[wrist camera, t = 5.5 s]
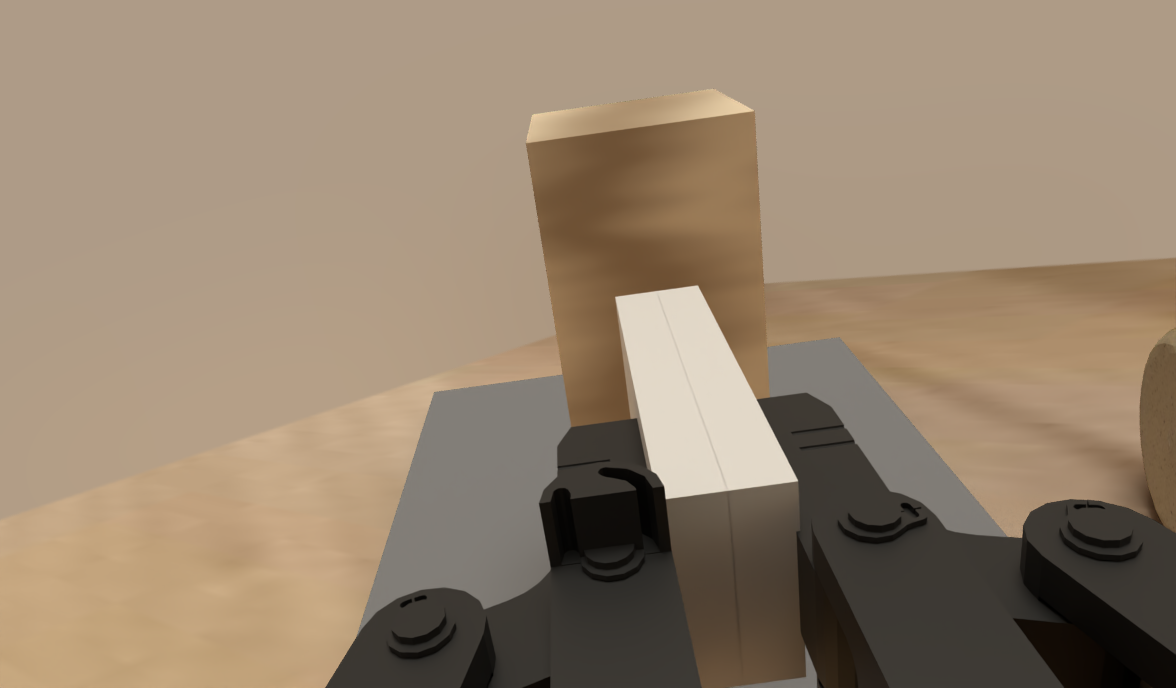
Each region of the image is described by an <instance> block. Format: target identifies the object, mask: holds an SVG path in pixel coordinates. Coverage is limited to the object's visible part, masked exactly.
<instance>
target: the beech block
mask: <svg viewBox="0 0 1176 688" xmlns="http://www.w3.org/2000/svg"><path fill="white" fill-rule="evenodd" d="M526 146H527V152H528V159H529V165H530V172H531V178H532V184H533V191H534V196H535V203H536V209H537V216H538V222H539V228H540V234H541V241H542V247H543V253H544V260H545V266H546V272H547V278H548V285H549V291H550V297H551V304H552V310H553V316H554V322H555V329H556V335H557V341H558V347H559V354H560V360H561V366H562V373H563V379H564V385H565V391H566V398H567V404H568V410H569V416H570V423H571V427H576V426H583V425H590V424H597V423H605V422H612V421H619V420H627V419H631V417H630V409H629V401H628V394H627V386H626V378H625V370H624V362H623V354H622V347H621V339H620V331H619V323H618V315H617V308H616V300H615V297H618V296H625V295H633V294H640V293H647V292H654V291H661V290H668V289H676V288H683V287H690V286H697V285H698V287H699V289H700V291H701V293H702V294H703V296H704V298H705V300H706V302H707V304H708V306H709V308H710V310H711V312H712V314H713V316H714V318H715V320H716V322H717V324H718V326H719V328H720V330H721V332H722V333H723V335H724V337H725V339H726V341H727V343H728V345H729V347H730V349H731V351H732V353H733V355H734V357H735V359H736V361H737V363H738V365H739V367H740V369H741V371H742V372H743V374H744V376H745V378H746V380H747V382H748V384H749V386H750V388H751V390H752V392H753V394H754V396H755V398H756V399H762V398H769V397H770V391H769V373H768V354H767V335H766V316H765V297H764V278H763V259H762V241H761V221H760V203H759V184H758V165H757V146H756V127H755V111H754V110H752V109H750V108H748V107H746V106H745V105H743V104H741V103H739V102H737V101H735V100H734V99H732V98H730V97H728V96H726V95H724V94H723V93H721V92H719V91H717V90H715V89H709V90H702V91H695V92H688V93H681V94H674V95H667V96H660V97H653V98H646V99H638V100H631V101H624V102H617V103H610V104H603V105H596V106H589V107H582V108H575V109H568V110H561V111H554V112H547V113H540V114H533V115H532V119H531V123H530V128H529V132H528V136H527V141H526Z"/></svg>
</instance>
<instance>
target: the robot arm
mask: <svg viewBox="0 0 1176 688" xmlns="http://www.w3.org/2000/svg"><path fill="white" fill-rule="evenodd" d="M615 300H616V308H617V315H618V323H619V331H620V339H621V347H622V354H623V362H624V370H625V378H626V386H627V394H628V401H629V409H630V417H631V419H627V420H619V421H612V422H605V423H597V424H590V425H583V426H576V427H571V428H570V429H569V430H568V432H567V433H566V435H565V436H564V437H563V439H562V440H561V442H560V443H559V444H558V446H557V468H558V470H557V477H556V478H555V479H554V480H553V481H552V482H551V483H550V484H549V485H548V486H547V487H546V488H545V489H544V490H543V493H542V496H541V499H540V501H539V507H540V513H541V518H542V523H543V529H544V534H545V540H546V545H547V551H548V556H549V561H550V567H551V570H550V572H549V573H548V574H547V575H546V576H545V577H544V578H543V579H542V580H541V581H540V582H539V583H538V584H536V585H535V586H534V587H532V588H531V589H529V590H528V591H526V592H525V593H523V594H521V595H519V596H516V597H514V598H512V599H510V600H508V601H505V602H503V603H500V604H497V605H494V606H492V607H489V608H486V609H483V607H482V604H481V602H480V601H479V600H478V599H476V598H475V597H473V596H472V595H470V594H469V593H467V592H466V591H462V590H457V589H451V588H446V587H443V588H433V589H424V590H419V591H416V592H414V593H411V594H408V595H405V596H402V597H400V598H397V599H396V600H394V601H393V602H391V603H390V604H388V605H386V606H385V607H383V608H382V609H380V610H379V611H377V612H376V613H375V614H374V616H373V617H372V618H371V619H370V620H369V621H368V622H367V623H366V625H365V626H364V627H363V628H362V629H361V631H360V633H359V634H358V636H357V637H356V639H355V641H354V642H353V644H352V645H351V647H350V649H349V650H348V652H347V654H346V655H345V657H344V658H343V660H342V662H341V663H340V665H339V666H338V668H337V670H336V671H335V673H334V674H333V676H332V678H331V679H330V681H329V683H328V684H327V686H326V687H325V688H728V687H735V686H743V685H751V684H758V683H766V682H773V681H781V680H789V679H796V678H804V677H806V659H805V645H806V648H807V650H808V653H809V656H810V658H811V661H812V663H813V666H814V668H815V671H816V673H817V688H1176V533H1175V532H1173V531H1171V530H1170V529H1168V528H1166V527H1165V526H1163V525H1161V524H1160V523H1158V522H1156V521H1155V520H1153V519H1151V518H1148V517H1146V516H1144V515H1142V514H1140V513H1137V512H1135V511H1133V510H1131V509H1129V508H1126V507H1122V506H1117V505H1113V504H1109V503H1105V502H1102V501H1094V500H1074V499H1070V500H1064V501H1057V502H1051V503H1046V504H1045V505H1043V506H1041V507H1039V508H1037V509H1035V510H1033V511H1031V512H1030V514H1029V516H1028V517H1027V519H1026V521H1025V523H1024V525H1023V537H1022V538H1014V537H1000V536H986V535H974V534H966V533H959V532H954V531H950V530H947V529H946V528H945V527H944V525H943V524H942V523H941V521H940V520H939V519H938V517H937V516H936V515H935V514H934V513H933V512H932V511H931V510H929V509H928V508H927V507H926V506H925V505H924V504H923V503H921V502H919V501H917V500H915V499H912V498H910V497H908V496H906V495H903V494H901V493H896V492H890V491H889V489H888V488H887V486H886V485H885V483H884V482H883V481H882V479H881V478H880V476H879V475H878V473H877V472H876V470H875V469H874V467H873V466H872V465H871V463H870V462H869V460H868V459H867V457H866V456H865V454H864V453H863V452H862V450H861V449H860V447H859V446H858V444H855V441H854V439H853V437H852V436H851V434H850V433H849V431H848V430H847V428H844V424H843V423H842V421H841V420H840V418H839V417H838V415H837V414H836V412H835V411H834V410H833V408H832V407H831V406H830V405H828V404H826V403H824V402H823V401H821V400H819V399H817V398H815V397H814V396H812V395H810V394H808V393H807V392H806V393H799V394H791V395H784V396H777V397H769V398H762V399H756V398H755V396H754V394H753V392H752V390H751V388H750V386H749V384H748V382H747V380H746V378H745V376H744V374H743V372H742V371H741V369H740V367H739V365H738V363H737V361H736V359H735V357H734V355H733V353H732V351H731V349H730V347H729V345H728V343H727V341H726V339H725V337H724V335H723V333H722V332H721V330H720V328H719V326H718V324H717V322H716V320H715V318H714V316H713V314H712V312H711V310H710V308H709V306H708V304H707V302H706V300H705V298H704V296H703V294H702V293H701V291H700V289H699V287H698V285H697V286H690V287H683V288H676V289H668V290H661V291H654V292H647V293H640V294H633V295H625V296H618V297H615Z"/></svg>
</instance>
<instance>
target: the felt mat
mask: <svg viewBox="0 0 1176 688" xmlns="http://www.w3.org/2000/svg"><path fill="white" fill-rule="evenodd" d="M767 354H768V373H769V391H770V397H777V396H784V395H791V394H799V393H806V392H807V393H808V394H810V395H812V396H814V397H815V398H817V399H819V400H821V401H823V402H824V403H826V404H828V405H830V406H831V407H832V408H833V410H834V411H835V412H836V414H837V415H838V417H839V418H840V420H841V421H842V423H843V424H844V428H847V430H848V431H849V433H850V434H851V436H852V437H853V439H854V441H855V444H858V446H859V447H860V449H861V450H862V452H863V453H864V454H865V456H866V457H867V459H868V460H869V462H870V463H871V465H872V466H873V467H874V469H875V470H876V472H877V473H878V475H879V476H880V478H881V479H882V481H883V482H884V483H885V485H886V486H887V488H888V489H889V491H890V492H896V493H901V494H903V495H906V496H908V497H910V498H912V499H915V500H917V501H919V502H921V503H923V504H924V505H925V506H926V507H927V508H928V509H929V510H931V511H932V512H933V513H934V514H935V515H936V516H937V517H938V519H939V520H940V521H941V523H942V524H943V525H944V527H945V528H946V529H947V530H950V531H954V532H959V533H966V534H974V535H986V536H1000V537H1007V536H1006V534H1005V533H1004V532H1003V531H1002V530H1001V528H1000V527H999V526H998V525H997V524H996V522H995V521H994V520H993V519H992V518H991V517H990V515H989V514H988V513H987V512H986V511H985V509H984V508H983V507H982V506H981V505H980V504H979V502H978V501H977V500H976V499H975V498H974V496H973V495H972V494H971V493H970V492H969V490H968V489H967V488H966V487H965V486H964V485H963V483H962V482H961V481H960V480H959V479H958V477H957V476H956V475H955V474H954V473H953V471H952V470H951V469H950V468H949V467H948V466H947V464H946V463H945V462H944V461H943V460H942V458H941V457H940V456H939V455H938V454H937V453H936V451H935V450H934V449H933V448H932V447H931V445H930V444H929V443H928V442H927V441H926V439H925V438H924V437H923V436H922V435H921V434H920V432H919V431H918V430H917V429H916V428H915V426H914V425H913V424H912V423H911V422H910V420H909V419H908V418H907V417H906V416H905V415H904V413H903V412H902V411H901V410H900V409H899V407H898V406H897V405H896V404H895V403H894V401H893V400H892V399H891V398H890V397H889V396H888V394H887V393H886V392H885V391H884V390H883V388H882V387H881V386H880V385H879V384H878V383H877V381H876V380H875V379H874V378H873V377H872V375H871V374H870V373H869V372H868V371H867V369H866V368H865V367H864V366H863V365H862V364H861V362H860V361H859V360H858V359H857V358H856V356H855V355H854V354H853V353H852V352H851V350H850V349H849V348H848V347H847V346H846V345H845V343H844V342H843V341H842V340H841V339H840V337H838V338H831V339H824V340H816V341H809V342H801V343H794V344H787V345H779V346H772V347H767ZM570 428H571V423H570V416H569V410H568V404H567V398H566V391H565V385H564V379H563V375H557V376H550V377H543V378H535V379H528V380H520V381H513V382H506V383H498V384H491V385H483V386H476V387H469V388H461V389H454V390H446V391H439V392H434V395H433V398H432V401H431V404H430V407H429V410H428V413H427V417H426V420H425V423H424V426H423V429H422V432H421V435H420V439H419V442H418V445H417V448H416V451H415V454H414V458H413V461H412V464H411V467H410V470H409V473H408V476H407V480H406V483H405V486H404V489H403V492H402V495H401V498H400V502H399V505H398V508H397V511H396V514H395V517H394V521H393V524H392V527H391V530H390V533H389V536H388V539H387V543H386V546H385V549H384V552H383V555H382V558H381V561H380V565H379V568H378V571H377V574H376V577H375V580H374V584H373V587H372V590H371V593H370V596H369V599H368V602H367V606H366V609H365V612H364V615H363V618H362V621H361V624H360V628H359V631H358V634H359V633H360V631H361V629H362V628H363V627H364V626H365V625H366V623H367V622H368V621H369V620H370V619H371V618H372V617H373V616H374V614H375V613H376V612H377V611H379V610H380V609H382V608H383V607H385V606H386V605H388V604H390V603H391V602H393V601H394V600H396V599H397V598H400V597H402V596H405V595H408V594H411V593H414V592H416V591H419V590H424V589H433V588H443V587H446V588H451V589H457V590H462V591H466V592H467V593H469V594H470V595H472V596H473V597H475V598H476V599H478V600H479V601H480V602H481V604H482V607H483V609H486V608H489V607H492V606H494V605H497V604H500V603H503V602H505V601H508V600H510V599H512V598H514V597H516V596H519V595H521V594H523V593H525V592H526V591H528V590H529V589H531V588H532V587H534V586H535V585H536V584H538V583H539V582H540V581H541V580H542V579H543V578H544V577H545V576H546V575H547V574H548V573H549V572H550V570H551V567H550V561H549V556H548V551H547V545H546V540H545V534H544V529H543V523H542V518H541V513H540V507H539V501H540V499H541V496H542V493H543V490H544V489H545V488H546V487H547V486H548V485H549V484H550V483H551V482H552V481H553V480H554V479H555V478H556V477H557V470H558V468H557V446H558V444H559V443H560V442H561V440H562V439H563V437H564V436H565V435H566V433H567V432H568V430H569V429H570ZM358 634H357V636H358ZM805 659H806V677H804V678H796V679H789V680H781V681H773V682H766V683H758V684H751V685H743V686H735V687H728V688H817V673H816V671H815V668H814V666H813V663H812V661H811V658H810V656H809V653H808V650H807V648H806V645H805Z"/></svg>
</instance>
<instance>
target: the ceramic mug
mask: <svg viewBox="0 0 1176 688" xmlns="http://www.w3.org/2000/svg"><path fill="white" fill-rule="evenodd" d="M1140 437H1141V448H1142V456H1143V463H1144V470H1145V474H1146V479H1147V484H1148V488H1149V491H1150V494H1151V497H1152V500H1153V503H1154V506H1155V509H1156V512H1157V514H1158V516H1159V518H1160V520H1161V522H1162V523H1163V525H1164V526H1165V527H1166V528H1168V529H1170V530H1171V531H1173V532H1175V533H1176V328H1174V329H1172V330H1170V331H1169V332H1168V333H1167V334H1166V335H1164V336H1163V337H1162V338H1161V339H1160V340H1159V341H1158V342H1157V344H1156V345H1155V347H1154V348H1153V350H1152V351H1151V353H1150V355H1149V358H1148V360H1147V363H1146V366H1145V370H1144V375H1143V381H1142V387H1141V397H1140Z"/></svg>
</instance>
